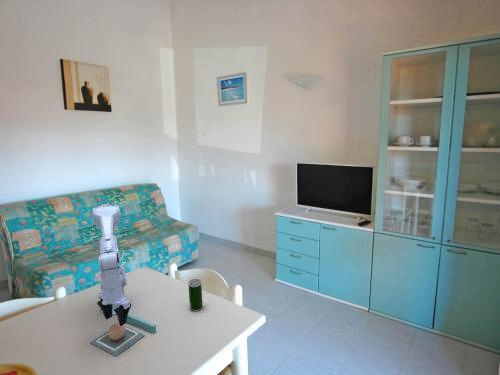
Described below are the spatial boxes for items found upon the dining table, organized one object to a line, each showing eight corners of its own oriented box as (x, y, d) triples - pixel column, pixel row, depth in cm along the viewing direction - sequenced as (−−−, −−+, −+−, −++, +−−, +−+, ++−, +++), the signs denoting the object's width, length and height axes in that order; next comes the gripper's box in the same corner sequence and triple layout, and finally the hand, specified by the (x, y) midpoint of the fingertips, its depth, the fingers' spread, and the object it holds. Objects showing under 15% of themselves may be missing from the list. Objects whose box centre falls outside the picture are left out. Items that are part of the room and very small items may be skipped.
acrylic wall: (117, 318, 122) (117, 311, 122) (120, 317, 123) (119, 310, 123) (153, 333, 112) (153, 326, 112) (156, 332, 113) (155, 324, 113)
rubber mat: (90, 343, 108) (89, 340, 108) (119, 324, 118) (119, 322, 118) (116, 356, 101) (115, 354, 101) (144, 336, 111) (144, 333, 111)
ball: (105, 340, 109) (104, 326, 108) (119, 331, 113) (117, 318, 112) (116, 345, 106) (114, 331, 105) (129, 336, 111) (128, 322, 110)
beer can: (192, 313, 125) (191, 286, 123) (187, 307, 129) (186, 280, 127) (204, 309, 128) (203, 282, 126) (199, 303, 132) (198, 277, 130)
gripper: (88, 285, 106) (92, 321, 109) (115, 296, 99) (119, 333, 101) (106, 277, 112) (110, 311, 115) (133, 286, 105) (137, 322, 108)
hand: (115, 321), depth 108 cm, fingers open, 7 cm apart
